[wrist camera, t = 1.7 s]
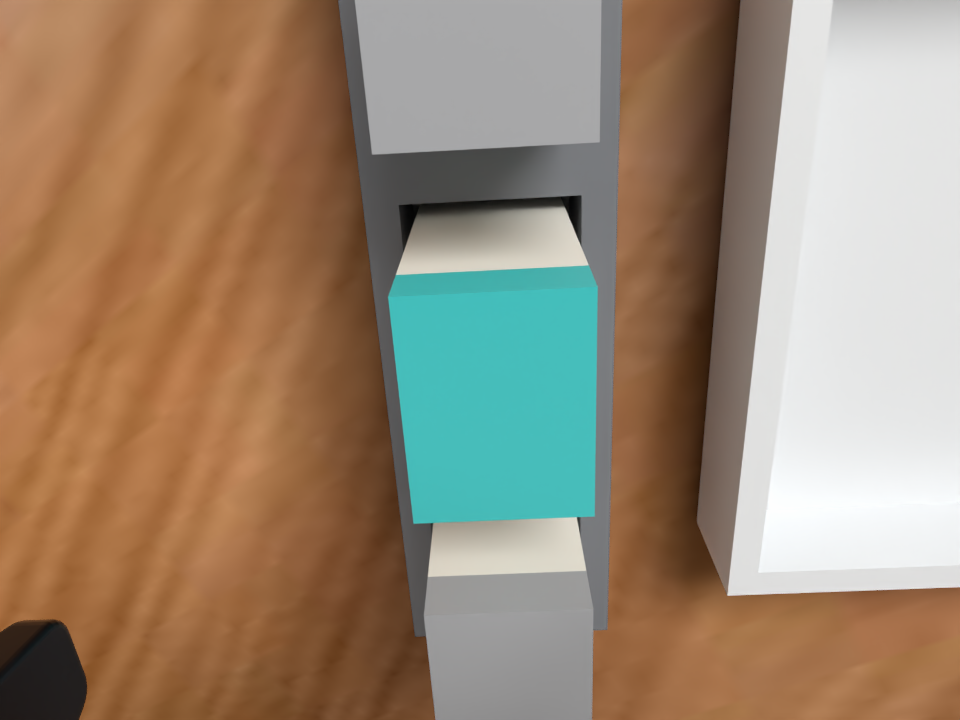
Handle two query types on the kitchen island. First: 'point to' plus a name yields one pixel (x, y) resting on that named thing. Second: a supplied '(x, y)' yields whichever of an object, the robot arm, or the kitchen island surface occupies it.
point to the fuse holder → (494, 176)
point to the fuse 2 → (509, 621)
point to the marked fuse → (496, 362)
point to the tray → (838, 303)
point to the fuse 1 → (480, 73)
